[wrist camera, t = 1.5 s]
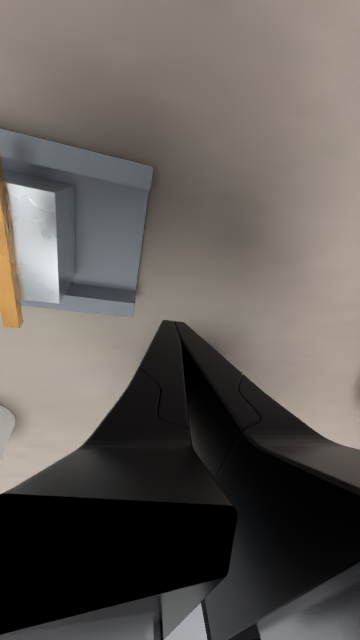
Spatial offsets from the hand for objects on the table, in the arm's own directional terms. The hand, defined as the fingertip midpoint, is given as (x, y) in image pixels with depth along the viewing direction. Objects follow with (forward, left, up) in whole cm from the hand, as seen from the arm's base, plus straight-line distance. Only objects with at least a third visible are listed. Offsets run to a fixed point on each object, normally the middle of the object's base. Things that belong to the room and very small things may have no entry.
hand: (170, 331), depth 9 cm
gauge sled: (0, +8, -11) cm, 13 cm away
